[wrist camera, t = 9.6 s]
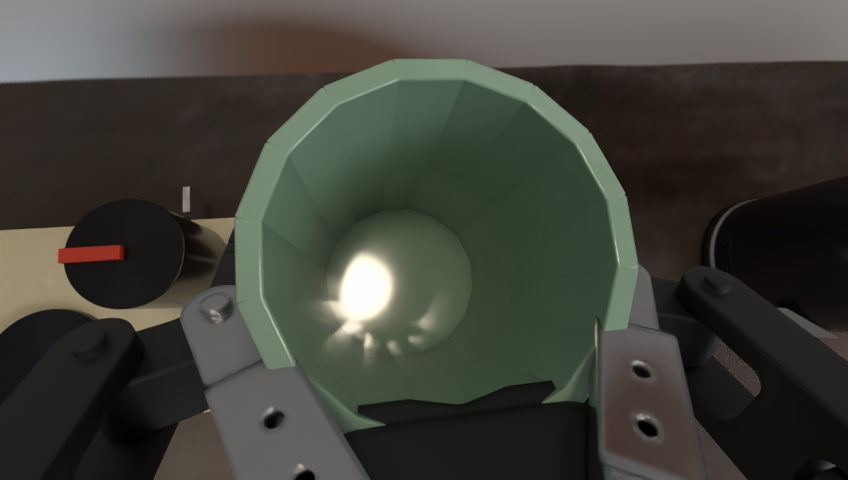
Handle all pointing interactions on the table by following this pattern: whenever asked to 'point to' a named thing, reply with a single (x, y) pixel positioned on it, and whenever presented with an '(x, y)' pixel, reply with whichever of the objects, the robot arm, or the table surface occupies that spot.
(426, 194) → the green cup
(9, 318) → the stove
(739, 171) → the table surface
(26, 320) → the burner
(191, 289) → the stove knob
